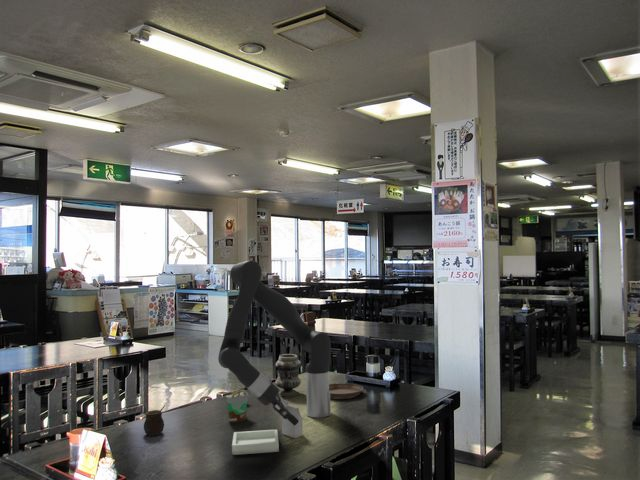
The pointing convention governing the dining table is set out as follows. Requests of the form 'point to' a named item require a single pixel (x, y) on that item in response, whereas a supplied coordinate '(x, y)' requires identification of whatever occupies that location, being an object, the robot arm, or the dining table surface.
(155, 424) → the mate gourd
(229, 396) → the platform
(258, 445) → the tray
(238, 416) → the food container
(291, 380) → the apothecary jar
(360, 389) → the plant saucer
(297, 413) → the tea bag
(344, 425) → the dining table surface
